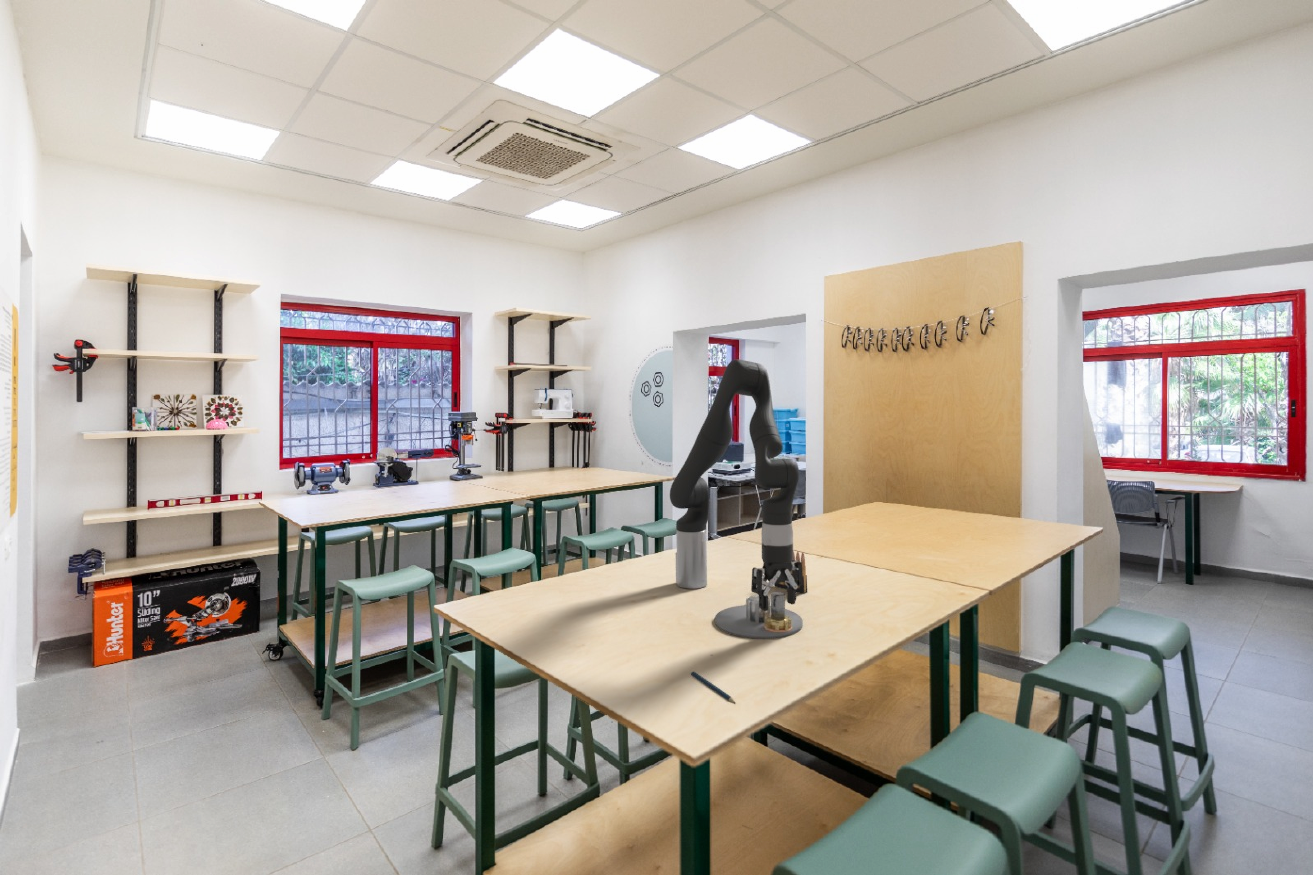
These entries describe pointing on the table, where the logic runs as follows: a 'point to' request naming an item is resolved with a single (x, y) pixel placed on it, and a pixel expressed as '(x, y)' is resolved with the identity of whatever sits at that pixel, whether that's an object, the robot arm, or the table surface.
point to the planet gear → (778, 613)
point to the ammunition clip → (803, 587)
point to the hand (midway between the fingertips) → (777, 606)
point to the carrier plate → (753, 621)
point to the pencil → (713, 687)
